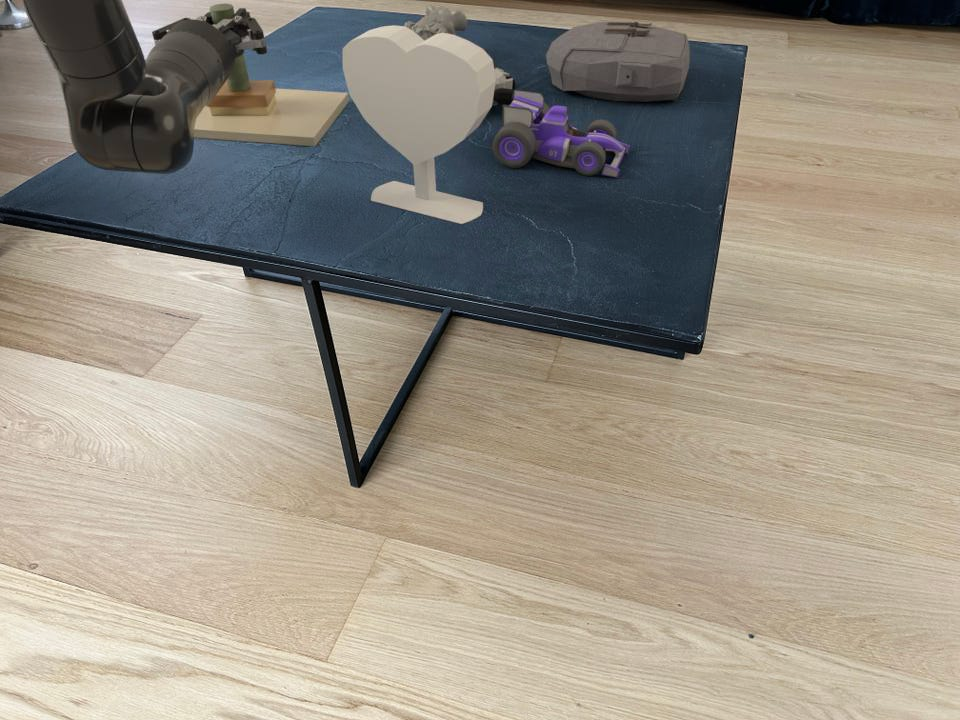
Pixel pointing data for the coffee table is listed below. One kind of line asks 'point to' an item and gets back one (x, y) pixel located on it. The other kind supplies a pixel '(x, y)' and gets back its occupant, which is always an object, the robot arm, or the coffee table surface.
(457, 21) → the elephant statuette
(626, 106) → the coffee table surface
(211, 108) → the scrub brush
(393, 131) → the heart sculpture
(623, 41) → the soft grey pack
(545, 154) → the toy race car
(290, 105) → the tile board
